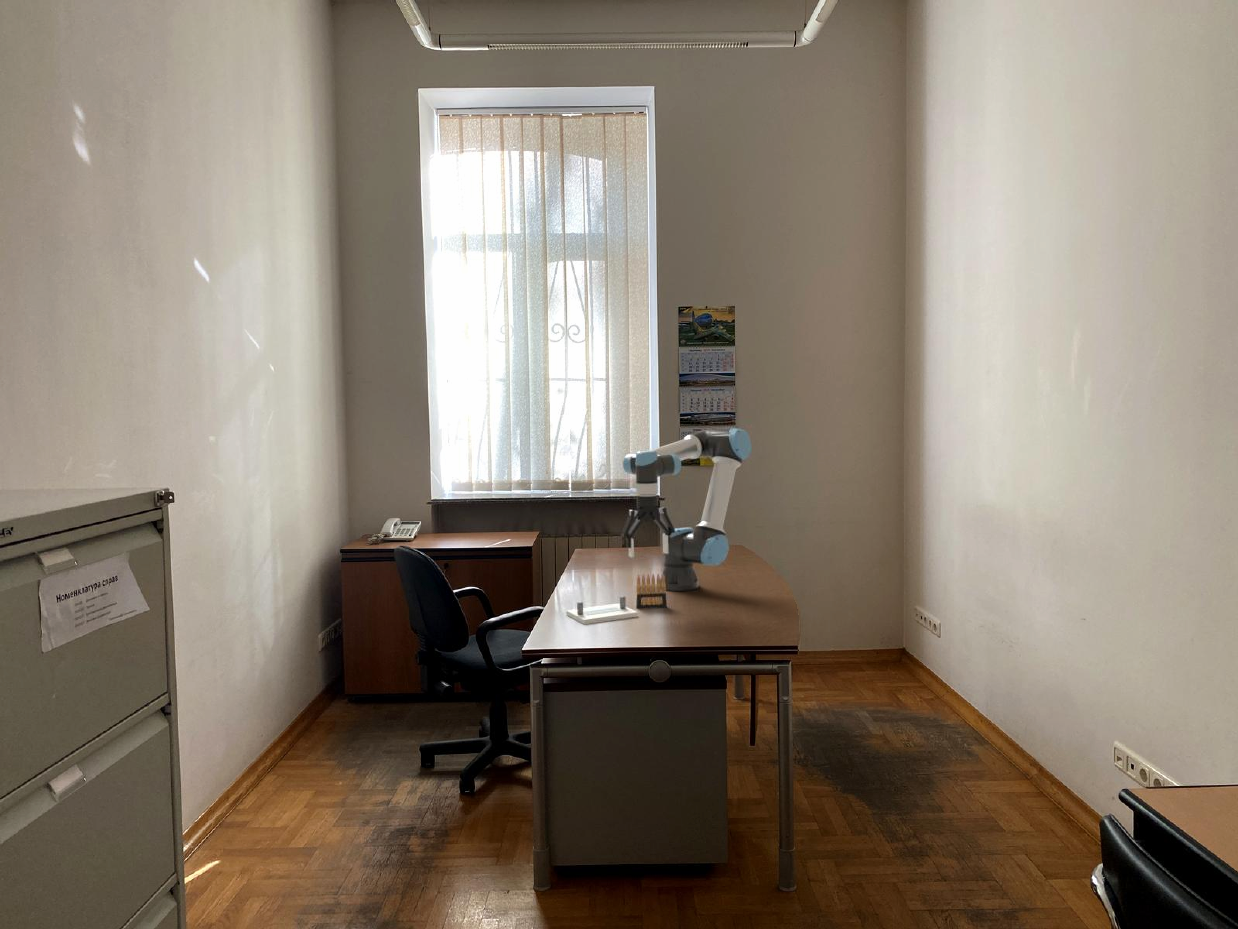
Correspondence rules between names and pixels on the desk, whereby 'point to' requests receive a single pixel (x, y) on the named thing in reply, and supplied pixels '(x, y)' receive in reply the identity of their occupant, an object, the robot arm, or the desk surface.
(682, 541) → the robot arm
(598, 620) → the board
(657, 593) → the ammunition clip
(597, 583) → the desk surface
